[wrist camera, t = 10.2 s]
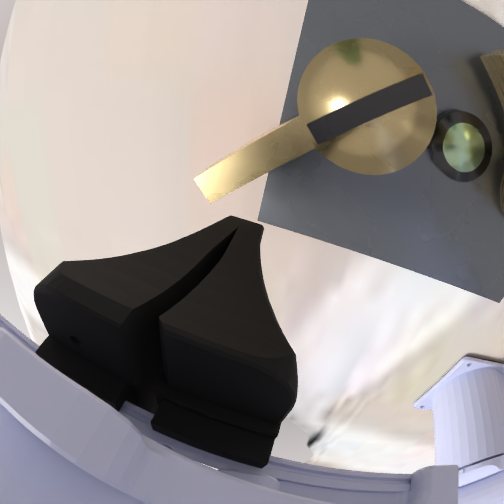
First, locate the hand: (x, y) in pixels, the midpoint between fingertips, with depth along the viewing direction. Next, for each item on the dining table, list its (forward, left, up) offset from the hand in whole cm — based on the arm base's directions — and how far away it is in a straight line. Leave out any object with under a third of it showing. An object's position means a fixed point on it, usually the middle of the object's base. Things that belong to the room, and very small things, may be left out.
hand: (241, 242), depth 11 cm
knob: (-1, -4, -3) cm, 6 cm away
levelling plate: (-8, -6, -5) cm, 11 cm away
